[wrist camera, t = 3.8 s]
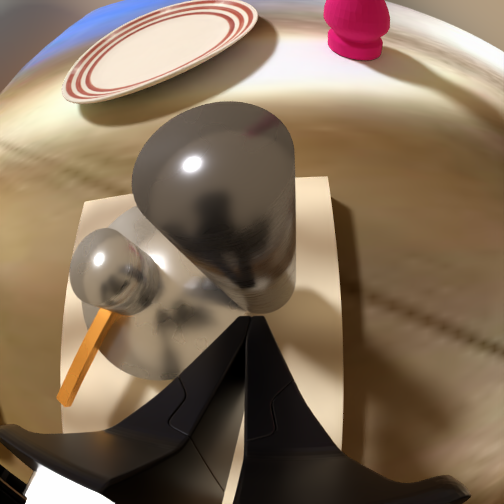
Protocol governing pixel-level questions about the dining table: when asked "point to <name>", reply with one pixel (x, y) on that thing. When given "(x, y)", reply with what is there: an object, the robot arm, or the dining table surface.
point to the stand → (280, 321)
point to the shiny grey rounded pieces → (189, 244)
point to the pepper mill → (357, 27)
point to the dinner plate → (157, 48)
